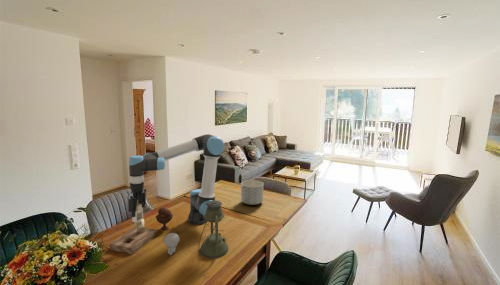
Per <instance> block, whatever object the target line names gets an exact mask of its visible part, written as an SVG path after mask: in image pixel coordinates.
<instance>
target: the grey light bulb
mask: <svg viewBox="0 0 500 285" xmlns="http://www.w3.org/2000/svg"><path fill="white" fill-rule="evenodd" d="M179 242H180V236H179V234H177V233H176V232H175V233H174V232H172V233H168V234H166V235H165V237H164V239H163V243H164V245H165V246H166V247H168V249H167V254H168V255H170V256H172V255H173V254H175V253H176V248H177V247H178V244H179Z"/></svg>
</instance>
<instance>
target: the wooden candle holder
mask: <svg viewBox="0 0 500 285" xmlns="http://www.w3.org/2000/svg"><path fill="white" fill-rule="evenodd" d="M141 222H142V224H141V225H134V227H132V228H130V229H129V230H127V231H126V232H124V233H123V234H122V235H120V236H119V237H117V238H116V239H114V240H113V241H112V242H110V243H109V250H110V251H114V252H119V253H124V254H129V255H135V254H136V252H139V251H140V249H142V248H143V247H144V246H145V245H147V244H148V243H149V242H151V241H152V240H153V239H154V238H155V237H157V234H158V233H157V229H153V228H149V227H148V228H147V227H145V219H144V217H143V218H141Z"/></svg>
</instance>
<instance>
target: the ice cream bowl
mask: <svg viewBox="0 0 500 285" xmlns="http://www.w3.org/2000/svg"><path fill="white" fill-rule="evenodd" d="M157 213H158V214H156V215H155V219H156V221H157V223H159V224H162V225H163V226H161V227H160V230H161V231H162V232H163V231H164V232H165V231H168V230H169V226H167V224H168V223H169V222H171V220H172V219H173V216H174V215H173V213H172V211H171V210H170V209H168V208H166V207H160V208H159V209H158V211H157Z"/></svg>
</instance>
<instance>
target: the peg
mask: <svg viewBox="0 0 500 285" xmlns="http://www.w3.org/2000/svg"><path fill="white" fill-rule="evenodd" d="M136 211H137V222H134V226H137V225H141V224H142V222H141V218H142V204H141V203H138V202H137V206H136Z"/></svg>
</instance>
